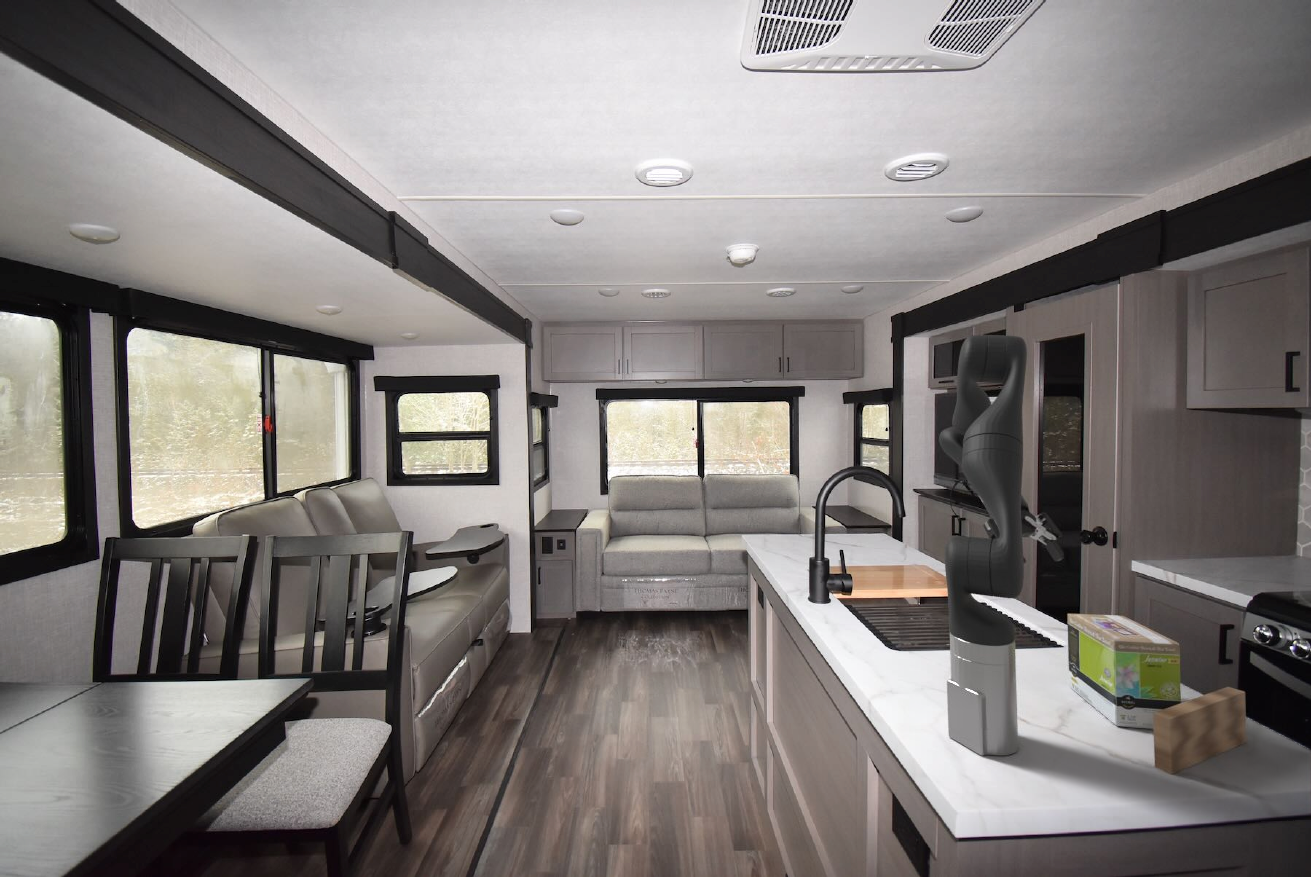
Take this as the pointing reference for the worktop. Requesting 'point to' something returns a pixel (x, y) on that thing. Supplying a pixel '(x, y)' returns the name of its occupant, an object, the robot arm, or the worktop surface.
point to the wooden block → (1199, 729)
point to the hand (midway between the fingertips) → (1041, 561)
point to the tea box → (1122, 668)
